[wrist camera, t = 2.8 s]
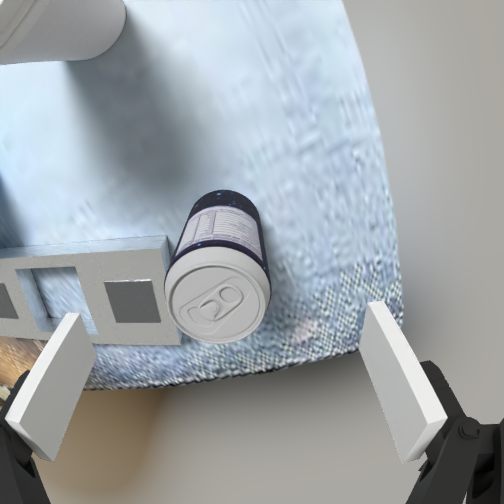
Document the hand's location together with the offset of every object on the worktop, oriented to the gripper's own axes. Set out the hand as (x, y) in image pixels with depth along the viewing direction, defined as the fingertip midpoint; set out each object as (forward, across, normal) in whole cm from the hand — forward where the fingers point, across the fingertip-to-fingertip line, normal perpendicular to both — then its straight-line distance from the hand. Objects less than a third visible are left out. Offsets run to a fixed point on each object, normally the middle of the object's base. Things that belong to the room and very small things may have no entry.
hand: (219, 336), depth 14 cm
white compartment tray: (+14, -18, -6) cm, 23 cm away
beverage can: (+14, 0, 0) cm, 14 cm away
